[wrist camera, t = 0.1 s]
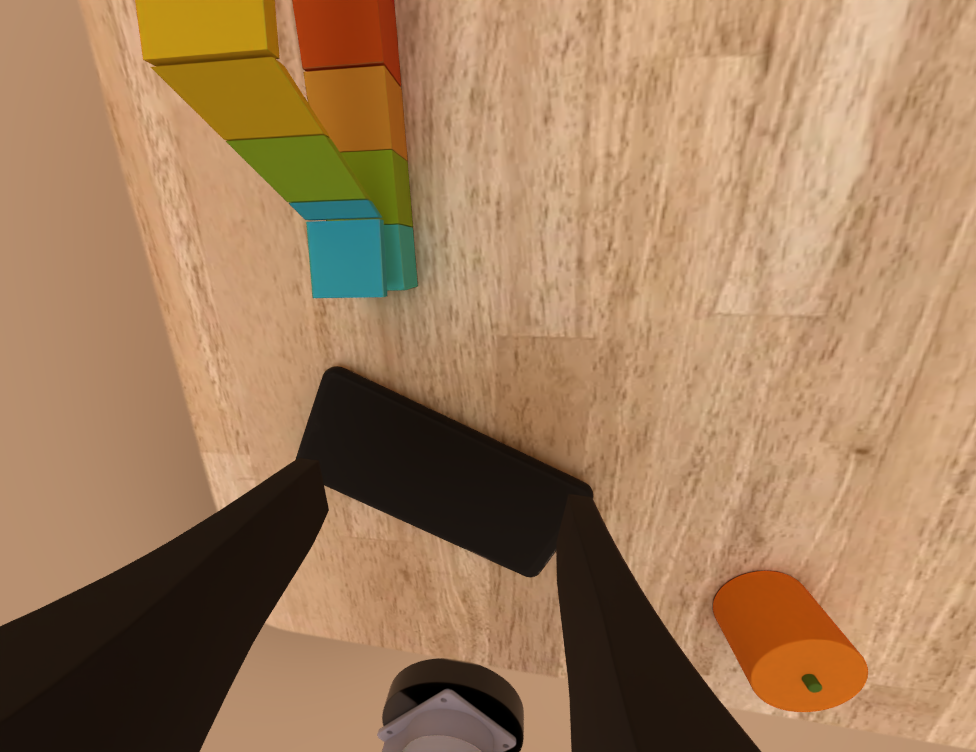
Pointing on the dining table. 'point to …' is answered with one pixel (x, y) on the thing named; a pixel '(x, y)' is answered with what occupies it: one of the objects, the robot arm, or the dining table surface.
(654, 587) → the dining table surface
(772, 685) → the mandarin
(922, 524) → the dining table surface
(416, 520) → the smartphone
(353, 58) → the chart
